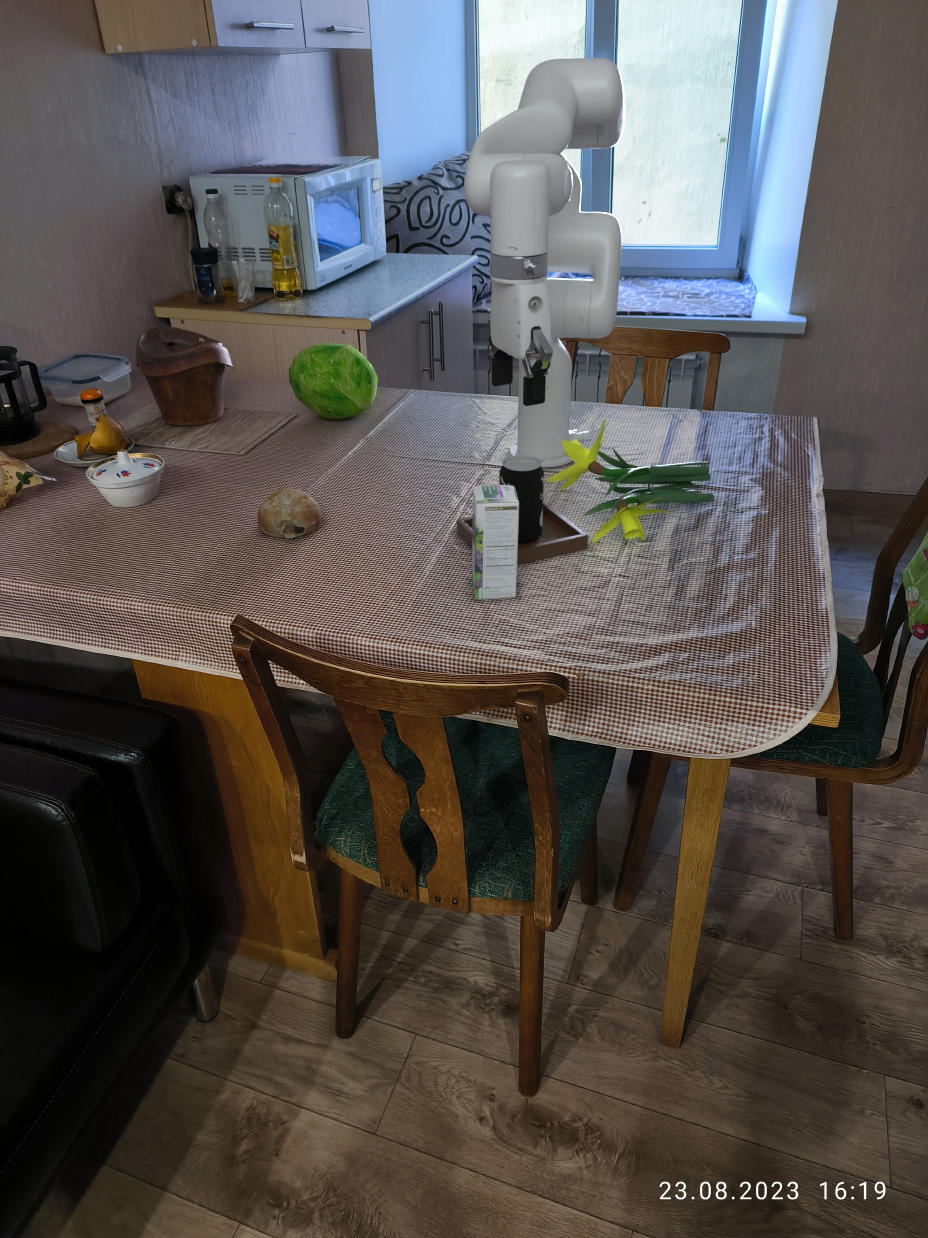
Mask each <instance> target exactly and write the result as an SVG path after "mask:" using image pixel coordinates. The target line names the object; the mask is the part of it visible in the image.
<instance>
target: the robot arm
mask: <svg viewBox="0 0 928 1238" xmlns="http://www.w3.org/2000/svg"><path fill="white" fill-rule="evenodd" d="M625 122H626V104H625V91H624V84H623V78H622V75H621V72H620V70H619V68H618V66H617V65H616V64H615V63H614V62H613V61H612V60H611V59H608V58H606V57H589V58H588V57H585V58H584V57H580V58H579V57H577V58H576V57H575V58H553V59H547V60H544V61H541V62H540V63H538V64H536V65H535V66H534V67H533V68H532V69H531V70H530V72H529V73H528V74H527V77H526V79H525V82H524V86H523V89H522V92H521V96H520V100H519V102H518V107H517V109H516V110H514V111H512V112H510V113H509V114H507V115H504V116H503V117H502V118H500V119H499V120H496V121H495V122H493V123H491V124H490V125H489V126H487V127H485V128H484V129H483V130H482V131H481V132H480V133H479V135H478V136H477V137H476V139H475V140H474V143H473V146H472V148H471V152H470V154H469V157H468V160H467V164H466V168H465V173H464V181H463V191H464V198H465V201H466V204H467V207H469V209H470V210H471V211H472V212H473V213H474V214H477V215H479V216H482V217H490V218H489V219H490V220H489V221H490V233H489V234H490V280H491V281H492V283H491V294H490V295H491V296H490V314H489V315H490V318H489V320H487V322H486V325H487V331H488V335H489V336H488V342H489V345H490V350H489V354H490V357H491V385H492V386H493V387H500V386H505V385H511V384H513V381H514V376H513V375H514V358H515V359H516V360H518V390H517V392H518V397H517V399H518V400H517V442H516V443H514V444H512V445H511V446H510V448H509V453H508V454H509V456H508V457H510V456H515V455H528V456H533V457H536V458H538V459H540V460H541V466H542V468H555V467H562V466H566V465H567V464H570V463H572V462H574V461H573V460H572V459H571V458H570V457H569V456H568V455H566V454H564V452H563V451H565V449H564V447H563V445H562V440H566V441H569V442H571V440H572V441H574V439H575V440H576V439H577V440H578V442H579V443H586V442H591V441H592V439H593V435H592V432H591V431H590V430H586V431H581V432H579V430H578V429H577V428H576V429H571V430H570V419H571V399H572V397H571V395H572V378H573V377H572V375H573V361H572V358H571V356H570V353H569V351H568V350H567V348H566V347H565V345H564V344H563V343H562V341H561V340H560V339H604V338H606V337H608V336H610V335H611V334H612V332H613V330H614V328H615V326H616V320H617V312H618V302H619V289H620V277H621V276H620V275H621V263H622V251H623V234H622V233H623V232H622V227H621V223H620V220H619V219H618V217H616V216H615V215H614V214H612V213H609V212H604V211H603V212H602V211H581V202H582V190H583V185H582V179H581V177H580V175H579V174H578V172H577V171H576V169H575V168H574V166H573V164H572V163H571V162H570V161H569V160H568V158H567V157H566V156H565V155H564V154H563V153H564V152H565V151H566V150H598V149H599V150H603V149H609V148H612V147H615V146H616V145H617V144H618V143H619V142H620V140H621V138H622V136H623V133H624V128H625ZM548 273H564V274H565V273H566V274H567V273H569V274H589V275H590V276H591V277H592V278H593V279H588V278H587V279H586V278H585V279H583V278H556V277H555V278H553V277H550V278H549V277H548Z"/></svg>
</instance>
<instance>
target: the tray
mask: <svg viewBox="0 0 928 1238" xmlns="http://www.w3.org/2000/svg"><path fill="white" fill-rule="evenodd" d="M472 531H473V516H469V517H464V518H459V519H456V534H457V536H459V537H460V538H461V539H462V540H463V541H464V542H465V543H466V544H467V545H468V546H469V547H470V548H472ZM588 547H589V534H588V533H587V532H585V531H584V530H582V529H581V528H580V527H578V526H577V525H575V524H574V523H573V522H572V521H571V520H569V519H568V518H566V517H565V516H564V515H563V514H562V513H560V512H559V511H558V510H556V509H555V508H554V507H553V506H551V505H550V504H549V503H547V502H546V501H543V525H542V534H541V535H540V536H539V537H538V539H537V540H535V541H533V542H531V543H525V544H518V553H517V566H519V565H523V564H527V563H532V562H536V561H539V560H544V559H549V558H554V557H558V556H561V555H566V554H571V553H574V552H579V551H584V550H588Z"/></svg>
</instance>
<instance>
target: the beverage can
mask: <svg viewBox="0 0 928 1238" xmlns="http://www.w3.org/2000/svg"><path fill="white" fill-rule="evenodd" d="M501 464H502V466H501V467H500V468H499V471H498V472H499V473H498V475H499V476H498V477H499V478H498V479H499V480H498V485H510V486H514V488H515V490H516V493H517V497H518V501H519V522H518V544H525V543H531V542H533V541H535V540H537V539H538V537H539V536H540V535H541V534H542V525H543V502H544V491H545V490H544V489H545V487H544V486H545V470H544V467H542V466H541V460H540V459H538V458H536V457H533V456H528V455H515V456H507V457H506V458H503V460H502V462H501Z"/></svg>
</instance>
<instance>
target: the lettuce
mask: <svg viewBox="0 0 928 1238" xmlns="http://www.w3.org/2000/svg"><path fill="white" fill-rule="evenodd" d="M378 381H379V376H378V375H377V373H376V371H375V369H374V367H373V365H372V363H370V361H369V360H368V359H367V358H366V357H365V356H364V355H363V354H362V353H361V352H360V351H359V350H357V349H356V348H355V347H354V346H353V345H351V344H344V343H335V342H327V343H326V342H325V343H316V344H313V345H311V346H308V347H305V348H303V349H301V351H300V352H298V353H297V354H296V355H295V356H294V357H293V359H292V362H291V364H290V366H289V368H288V383H289V384H290V387H291V388H292V390H293V393H294V396H295V398H296V399H297V400H298V401H299V402H300V403H301V404H302V405H304V406H305V407H306V408H307V409H309V410H311V411H312V412H314V413H315V414H316V415H318V416H319V417H321V418H323V419H324V420H343V419H348V418H352V417H357V416H358V415H360V414H362V413H364V412H366V411H368V410H369V409H370V408H371V407H372V405H373V403H374V401H375V398H376V396H377V390H378V383H379V382H378Z"/></svg>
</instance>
